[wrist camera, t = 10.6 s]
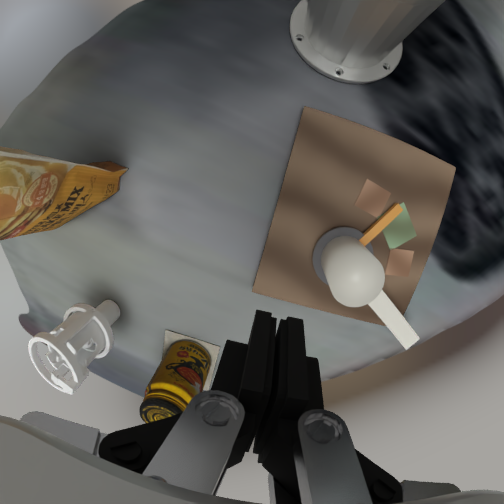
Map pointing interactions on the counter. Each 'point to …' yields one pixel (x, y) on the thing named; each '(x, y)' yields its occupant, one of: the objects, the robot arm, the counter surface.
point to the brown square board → (352, 210)
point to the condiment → (178, 376)
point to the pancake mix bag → (49, 190)
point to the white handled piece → (360, 273)
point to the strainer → (76, 344)
